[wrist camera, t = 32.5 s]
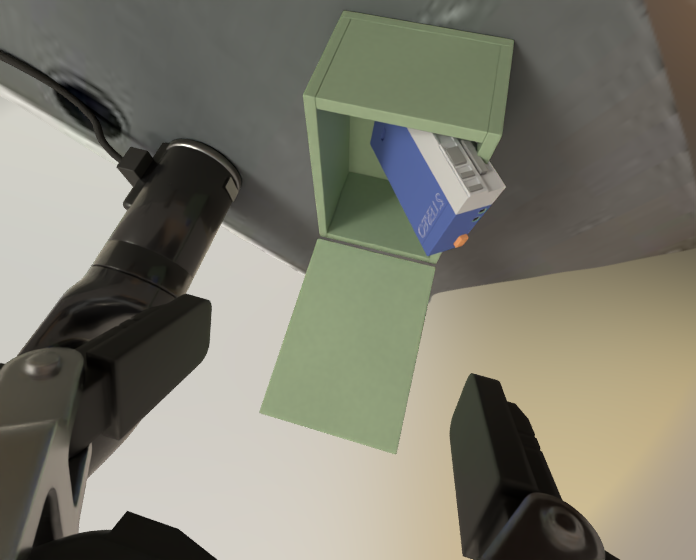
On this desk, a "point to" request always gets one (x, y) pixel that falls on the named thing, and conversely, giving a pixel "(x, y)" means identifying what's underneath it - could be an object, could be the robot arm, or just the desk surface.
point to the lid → (351, 345)
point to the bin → (395, 116)
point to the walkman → (436, 182)
